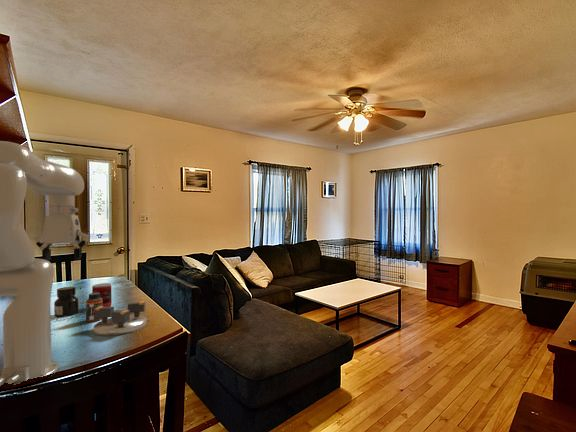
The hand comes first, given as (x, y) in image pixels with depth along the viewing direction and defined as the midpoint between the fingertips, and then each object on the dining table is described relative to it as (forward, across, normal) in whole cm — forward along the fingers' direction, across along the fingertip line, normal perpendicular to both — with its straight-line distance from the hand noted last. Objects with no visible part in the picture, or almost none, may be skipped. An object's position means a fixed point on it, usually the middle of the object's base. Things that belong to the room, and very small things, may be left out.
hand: (62, 260), depth 103 cm
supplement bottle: (+28, 0, -22) cm, 36 cm away
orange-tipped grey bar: (+26, -9, -11) cm, 30 cm away
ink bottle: (+28, +17, -34) cm, 48 cm away
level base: (+28, -15, -10) cm, 34 cm away
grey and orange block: (+26, -19, -15) cm, 36 cm away
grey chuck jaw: (+26, -17, -4) cm, 31 cm away
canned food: (+28, +6, -43) cm, 52 cm away
